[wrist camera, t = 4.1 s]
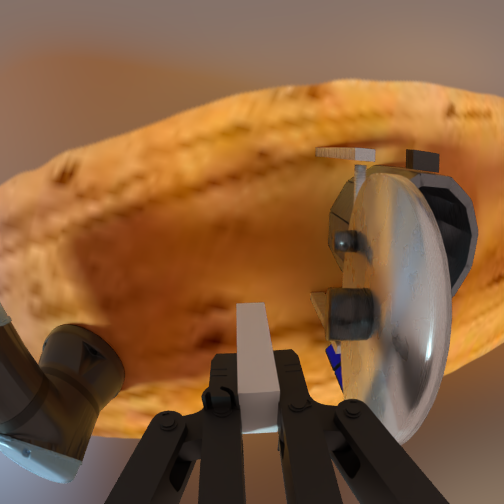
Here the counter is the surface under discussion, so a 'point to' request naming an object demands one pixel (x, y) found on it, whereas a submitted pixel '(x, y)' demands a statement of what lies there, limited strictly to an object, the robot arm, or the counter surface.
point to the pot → (438, 198)
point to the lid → (391, 302)
